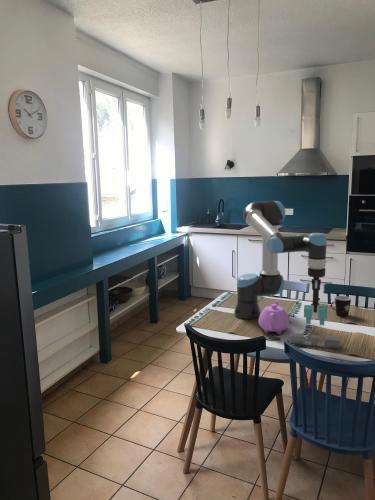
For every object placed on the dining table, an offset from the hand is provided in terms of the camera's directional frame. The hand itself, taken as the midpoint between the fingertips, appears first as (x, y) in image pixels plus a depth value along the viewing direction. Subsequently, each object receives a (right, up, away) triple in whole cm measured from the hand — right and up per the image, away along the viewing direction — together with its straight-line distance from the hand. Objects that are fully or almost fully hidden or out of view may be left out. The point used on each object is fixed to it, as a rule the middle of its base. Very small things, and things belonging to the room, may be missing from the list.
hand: (315, 316), depth 179 cm
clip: (0, -3, +1) cm, 3 cm away
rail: (0, -14, +2) cm, 14 cm away
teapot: (-14, -11, +22) cm, 28 cm away
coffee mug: (+27, -6, +40) cm, 49 cm away
